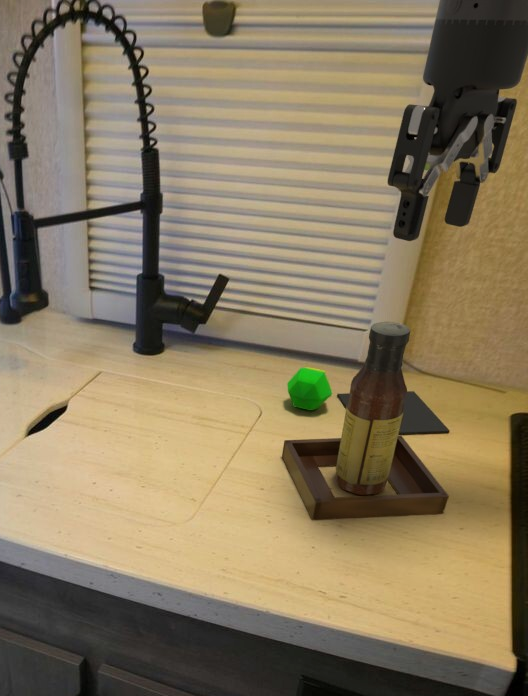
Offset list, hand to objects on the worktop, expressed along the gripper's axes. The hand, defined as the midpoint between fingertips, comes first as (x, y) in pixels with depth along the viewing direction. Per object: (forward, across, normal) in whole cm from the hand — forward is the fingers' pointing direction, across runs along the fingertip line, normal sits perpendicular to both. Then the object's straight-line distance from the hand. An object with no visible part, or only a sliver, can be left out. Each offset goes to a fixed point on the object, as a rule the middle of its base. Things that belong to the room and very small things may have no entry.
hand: (431, 231), depth 62 cm
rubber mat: (+30, +20, +10) cm, 37 cm away
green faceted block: (+30, +13, +19) cm, 38 cm away
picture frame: (+30, +1, +2) cm, 30 cm away
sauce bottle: (+30, +1, +2) cm, 30 cm away
